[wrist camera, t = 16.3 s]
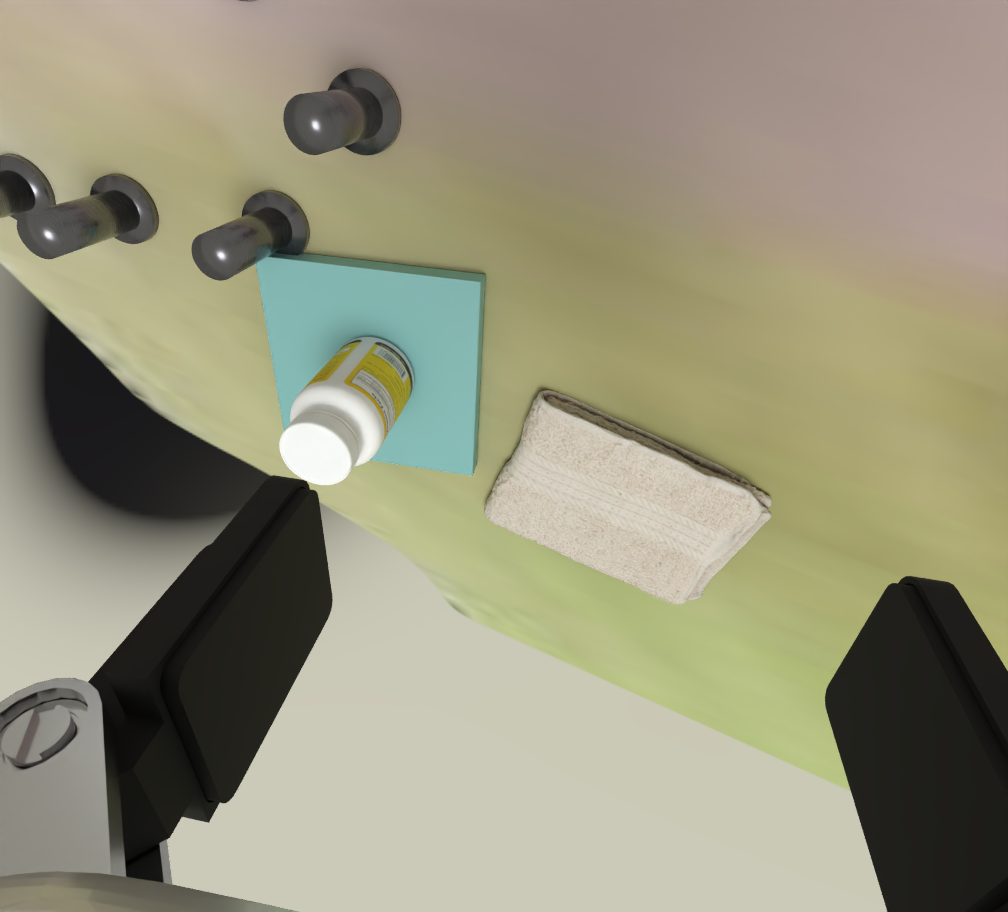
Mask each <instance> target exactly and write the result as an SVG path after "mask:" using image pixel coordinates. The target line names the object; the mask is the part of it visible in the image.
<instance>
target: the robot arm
mask: <svg viewBox="0 0 1008 912" xmlns="http://www.w3.org/2000/svg"><path fill="white" fill-rule="evenodd" d="M331 607H332V591H331V584H330V577H329V570H328V562H327V555H326V549H325V541H324V534H323V527H322V520H321V513H320V505H319V498H318V494H317V492H316V491H314V490H310V488H309V485H308V483H307V482H306V481H304V480H300V479H294V478H287V477H281V476H275V475H273V476H270V477H269V478H268V479H267V480H266V481H265V482H264V483H263V484H262V485H261V487H260V488H259V489H258V490H257V491H256V493H255V494H254V495H253V496H252V497H251V498H250V499H249V501H248V502H247V503H246V504H245V505H244V507H243V508H242V509H241V510H240V511H239V512H238V514H237V515H236V516H235V517H234V518H233V520H232V521H231V522H230V523H229V524H228V525H227V527H226V528H225V529H224V530H223V531H222V532H221V534H220V535H219V536H218V537H217V538H216V539H215V541H214V542H213V543H212V544H210V545H208V546H206V547H205V548H204V549H203V550H202V551H201V552H199V554H198V555H197V556H196V557H195V558H194V559H193V561H192V562H191V563H190V564H189V565H188V566H187V568H186V569H185V570H184V571H183V572H182V573H181V574H180V576H179V577H178V578H177V579H176V580H175V582H174V583H173V584H172V585H171V586H170V587H169V588H168V590H167V591H166V592H165V593H164V594H163V596H162V597H161V598H160V599H159V600H158V601H157V602H156V604H155V605H154V606H153V607H152V608H151V609H150V611H149V612H148V613H147V614H146V615H145V616H144V618H143V619H142V620H141V621H140V622H139V624H138V625H137V626H136V627H135V628H134V629H133V630H132V632H131V633H130V634H129V635H128V636H127V637H126V639H125V640H124V641H123V642H122V643H121V644H120V646H119V647H118V648H117V649H116V650H115V651H114V652H113V654H112V655H111V656H110V657H109V658H108V659H107V661H106V662H105V663H104V664H103V665H102V667H101V668H100V669H99V670H98V671H97V672H96V674H95V675H94V676H93V677H92V678H91V679H90V680H89V682H86V681H83V680H79V679H76V678H56V679H51V680H48V681H44V682H39V683H36V684H33V685H31V686H29V687H26V688H24V689H22V690H19V691H17V692H15V693H14V694H13V695H11V696H9V697H8V698H6V699H5V700H3V701H2V702H0V912H297V911H293V910H288V909H283V908H280V907H275V906H271V905H266V904H262V903H256V902H252V901H247V900H243V899H238V898H233V897H228V896H223V895H219V894H214V893H209V892H204V891H200V890H195V889H190V888H185V887H181V886H176V885H172V878H171V870H170V861H169V854H168V845H167V839H168V838H170V836H171V834H172V833H173V831H174V829H175V827H176V826H177V824H178V822H179V821H180V819H181V817H186V818H191V819H195V820H200V821H204V822H209V821H210V819H211V817H212V816H213V814H214V812H215V810H216V808H217V806H218V804H219V803H227V802H228V801H229V800H230V799H231V798H232V797H233V796H234V794H235V792H236V790H237V789H238V787H239V785H240V783H241V782H242V780H243V777H244V776H245V774H246V772H247V770H248V768H249V766H250V764H251V763H252V761H253V759H254V757H255V755H256V753H257V751H258V749H259V748H260V745H261V744H262V742H263V740H264V738H265V736H266V734H267V732H268V730H269V729H270V727H271V725H272V723H273V721H274V719H275V717H276V715H277V714H278V712H279V710H280V708H281V706H282V704H283V702H284V700H285V699H286V697H287V695H288V693H289V691H290V689H291V687H292V685H293V683H294V682H295V680H296V678H297V676H298V674H299V672H300V670H301V668H302V666H303V665H304V663H305V661H306V659H307V657H308V655H309V653H310V651H311V650H312V648H313V646H314V644H315V642H316V640H317V638H318V636H319V635H320V633H321V631H322V629H323V627H324V625H325V623H326V621H327V619H328V617H329V614H330V612H331ZM825 705H826V710H827V714H828V717H829V720H830V724H831V727H832V730H833V733H834V737H835V740H836V743H837V747H838V750H839V753H840V757H841V760H842V763H843V766H844V770H845V773H846V776H847V780H848V783H849V786H850V790H851V793H852V796H853V799H854V802H855V806H856V809H857V813H858V816H859V819H860V822H861V826H862V829H863V832H864V836H865V839H866V842H867V845H868V849H869V852H870V855H871V859H872V862H873V865H874V868H875V872H876V875H877V878H878V882H879V885H880V888H881V892H882V895H883V898H884V901H885V905H886V908H887V912H1008V671H1007V669H1006V668H1005V666H1004V664H1003V663H1002V661H1001V660H1000V658H999V656H998V655H997V653H996V651H995V650H994V648H993V647H992V645H991V643H990V642H989V640H988V638H987V637H986V635H985V634H984V632H983V630H982V629H981V627H980V625H979V624H978V622H977V621H976V619H975V617H974V616H973V614H972V612H971V611H970V609H969V608H968V606H967V604H966V603H965V601H964V599H963V598H962V596H961V595H960V593H959V591H958V590H957V589H956V588H955V586H954V585H953V584H951V583H949V582H944V581H938V580H932V579H925V578H919V577H913V576H906V577H904V578H902V579H901V580H900V582H899V583H898V584H897V583H892V584H890V585H889V586H888V587H887V588H886V589H885V591H884V593H883V594H882V596H881V598H880V600H879V601H878V603H877V605H876V606H875V608H874V610H873V611H872V613H871V615H870V616H869V618H868V620H867V621H866V623H865V625H864V626H863V628H862V630H861V631H860V633H859V635H858V636H857V638H856V640H855V641H854V643H853V645H852V646H851V648H850V650H849V651H848V653H847V655H846V656H845V658H844V660H843V661H842V663H841V665H840V666H839V668H838V670H837V671H836V673H835V675H834V677H833V678H832V680H831V682H830V683H829V685H828V687H827V690H826V695H825Z"/></svg>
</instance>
